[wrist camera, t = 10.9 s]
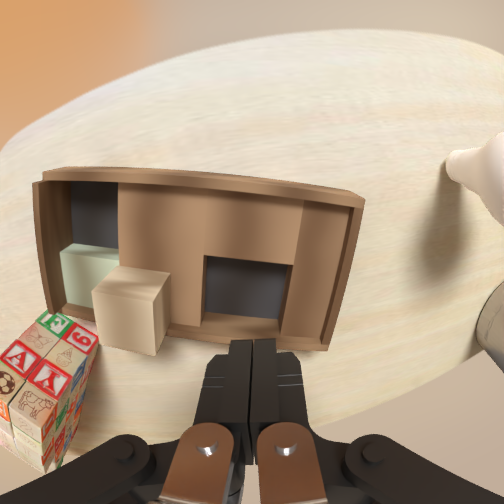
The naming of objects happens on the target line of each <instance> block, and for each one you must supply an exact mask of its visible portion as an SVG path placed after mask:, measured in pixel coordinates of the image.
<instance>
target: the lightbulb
mask: <svg viewBox="0 0 504 504" xmlns="http://www.w3.org/2000/svg"><path fill="white" fill-rule="evenodd" d="M446 171H447V174H448V176H449V177H450V179H452V180H453V181H455V182H457V183H460V184H463V185H464V186H465V187H466V188H467V189H469V190H471V191H473V192H475V193H476V194H478V195H479V196H480V198H481V200H482V202H483V203H484V205H485V206H486V208H487V209H488V211H489V212H490V214H491V215H492V216H493V217H494V218H495V219H496V220H497V221H498V222H499V223H500V224H501V225H502V226H504V132H500V133H499V134H497V135H496V136H494V137H493V138H492V139H490V140H489V141H488V142H487V143H486V144H485V145H484V146H482V147H479V148H469V149H467V150H454V151H452V152H451V153H450V154H449V155H448V157H447V159H446Z"/></svg>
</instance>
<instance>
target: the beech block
mask: <svg viewBox="0 0 504 504" xmlns="http://www.w3.org/2000/svg"><path fill="white" fill-rule="evenodd" d="M91 293H92V301H93V308H94V314H95V320H96V326H97V332H98V338H99V343H100V344H101V345H105V346H109V347H113V348H118V349H122V350H127V351H131V352H136V353H141V354H146V355H151V356H156V355H157V353H158V350H159V348H160V346H161V343H162V341H163V339H164V336H165V334H166V332H167V329H168V327H169V325H170V273H167V272H160V271H152V270H145V269H138V268H131V267H125V266H118V265H117V266H116V267H115V268H114V269H113V270H112V271H111V272H110V273H109V274H108V275H107V276H106V277H105V278H104V279H103V280H102V281H101V282H100V283H99V284H98V285H97V286H96V287H95V288H94V289H93V290H92V291H91Z"/></svg>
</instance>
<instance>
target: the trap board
mask: <svg viewBox="0 0 504 504" xmlns="http://www.w3.org/2000/svg"><path fill="white" fill-rule="evenodd" d="M32 188H33V211H34V224H35V235H36V244H37V252H38V259H39V266H40V272H41V278H42V284H43V289H44V294H45V299H46V304H47V308H48V313H49V314H51V315H55V314H56V313H57V312H58V313H60V314H64V315H68V316H72V317H76V318H81V319H85V320H89V321H94V322H96V320H95V314H94V308H93V301H92V293H91V291H92V290H93V289H94V288H95V287H96V286H97V285H98V284H99V283H100V282H101V281H102V280H103V279H104V278H105V277H106V276H107V275H108V274H109V273H110V272H111V271H112V270H113V269H114V268H115V267H116V266H117V265H118V266H125V267H131V268H138V269H145V270H152V271H160V272H167V273H170V325H169V327H168V329H167V332H166V334H165V335H167V336H173V337H179V338H186V339H193V340H200V341H208V342H216V343H224V344H230V341H231V340H241V339H253V345H254V339H267V338H276V348H277V349H291V350H309V351H328V347H329V344H330V341H331V338H332V335H333V331H334V328H335V325H336V321H337V318H338V314H339V311H340V307H341V303H342V300H343V296H344V292H345V289H346V285H347V281H348V277H349V273H350V269H351V265H352V261H353V256H354V252H355V248H356V243H357V239H358V234H359V229H360V225H361V220H362V215H363V210H364V204H365V199H364V198H362V197H360V196H358V195H357V194H355V193H353V192H351V191H348V190H342V189H336V188H330V187H324V186H317V185H311V184H304V183H297V182H290V181H282V180H275V179H267V178H258V177H250V176H241V175H231V174H221V173H210V172H198V171H184V170H169V169H152V168H128V167H63V168H58V169H53V170H49V171H44V172H43V180H42V181H38V182H34V183H32Z"/></svg>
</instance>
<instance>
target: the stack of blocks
mask: <svg viewBox="0 0 504 504" xmlns="http://www.w3.org/2000/svg"><path fill="white" fill-rule="evenodd" d="M98 345H99V338H98V336H97V335H95V334H93V333H92V332H90V331H88V330H87V329H85V328H83V327H82V326H80V325H79V324H77V323H75V322H73V321H72V320H70V319H69V318H67V317H66V316H64V315H63V314H60V313H58V312H57V313H56V314H55V315H51V314H49V313H48V309H47V310H46V311H45V312H44V313H43V314H42V315H41V316H39V318H37V319H36V320H35V323H33V324H32V325H31V326H30V327H29V328H28V329H27V330H26V331H25V332H24V333H23V334H22V335H21V336H20V337H19V338H18V339H16V340H15V341H14V342H13V343H12V344H11V345H10V346H9V347H8V348H7V349H6V350H5V351H4V352H3V353H2V354H1V355H0V444H1V445H2V446H3V447H4V448H6V449H7V450H9V451H10V452H11V453H13V454H14V455H16V456H17V457H19V458H20V459H21V460H23V461H24V462H26V463H27V464H29V465H30V466H32V467H33V468H35V469H37V470H38V471H40V472H42V473H43V474H46V472H47V471H48V472H49V473H50V472H52V471H54V470H56V469H58V468H60V467H61V464H62V462H63V457H64V456H65V454H66V452H67V450H68V447H69V445H70V442H71V440H72V438H73V437H74V434H75V432H76V430H77V425H78V422H79V418H80V412H81V409H82V404H83V398H84V393H85V389H86V385H87V381H88V377H89V374H90V371H91V368H92V364H93V361H94V358H95V355H96V352H97V348H98Z"/></svg>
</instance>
